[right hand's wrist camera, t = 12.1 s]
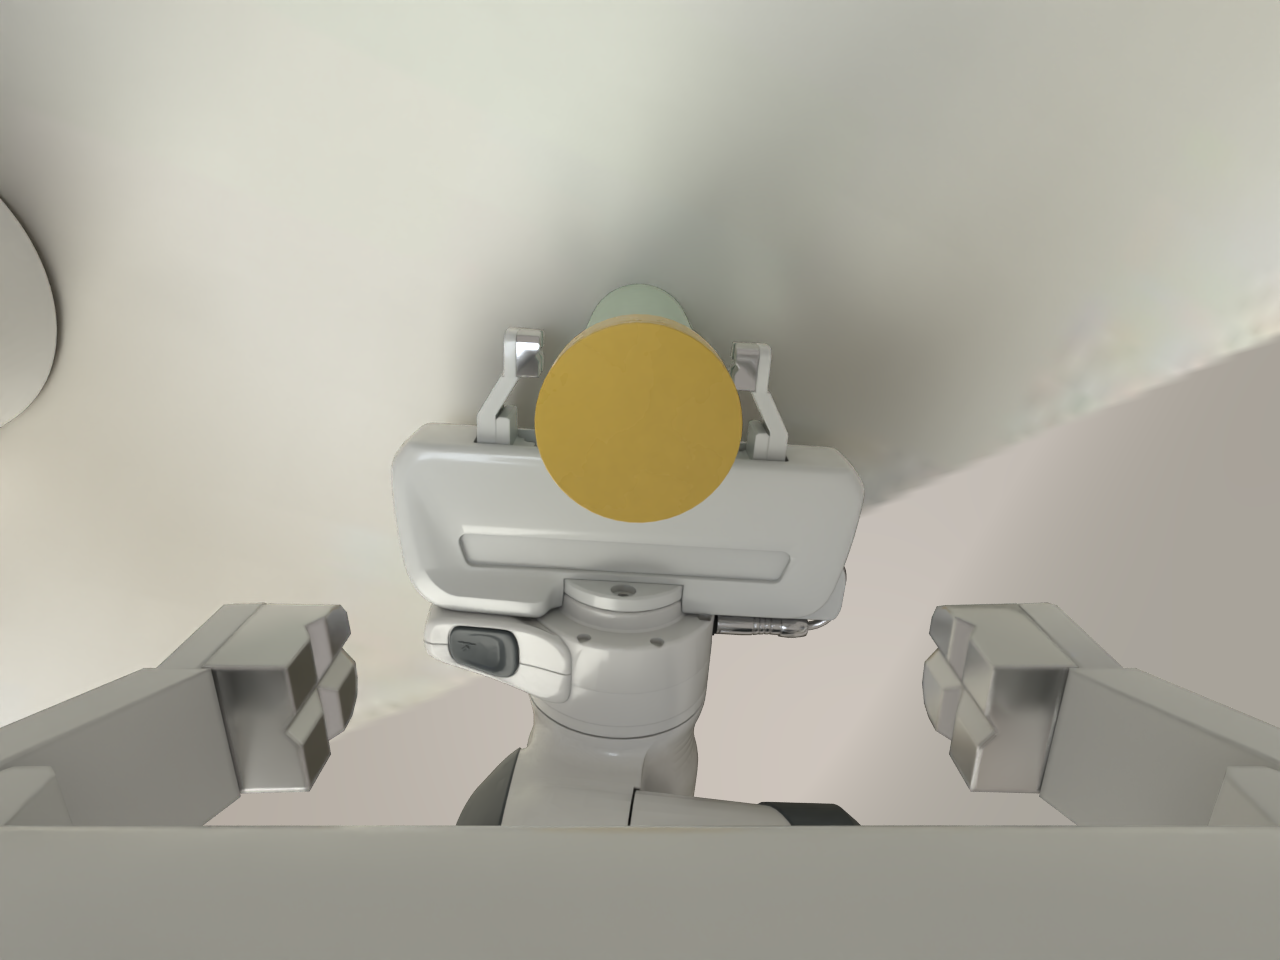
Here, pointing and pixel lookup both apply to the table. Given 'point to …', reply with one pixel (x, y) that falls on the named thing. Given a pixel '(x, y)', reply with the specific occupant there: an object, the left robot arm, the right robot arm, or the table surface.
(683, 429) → the lid
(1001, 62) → the table surface
